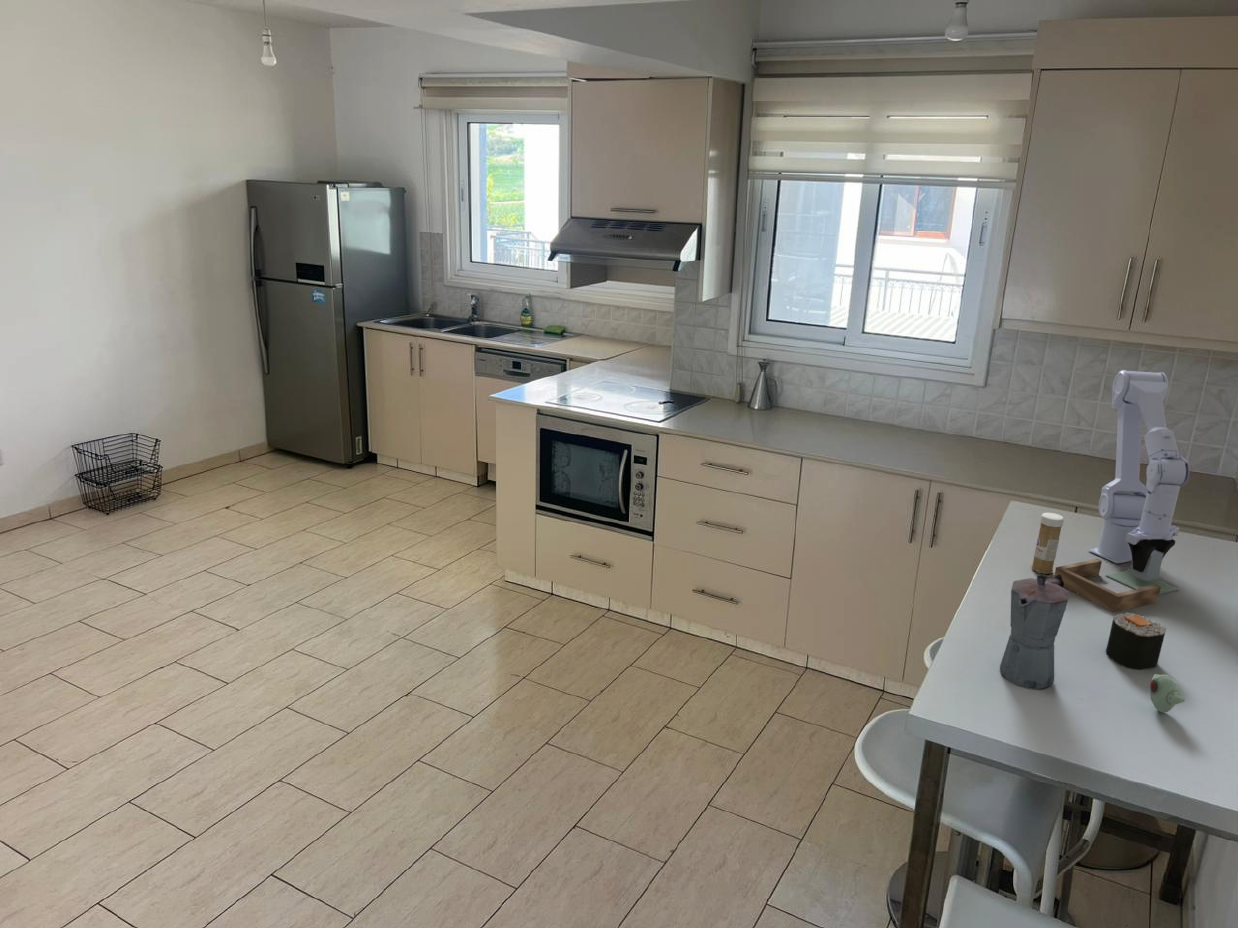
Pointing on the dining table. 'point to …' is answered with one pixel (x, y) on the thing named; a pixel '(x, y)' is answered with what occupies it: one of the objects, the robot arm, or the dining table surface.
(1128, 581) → the green mat
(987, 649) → the dining table surface
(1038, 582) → the moka pot
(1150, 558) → the slate block
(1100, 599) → the walnut stall
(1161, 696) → the pale green rounded piece
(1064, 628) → the dining table surface
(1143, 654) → the sushi
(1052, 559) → the sprinkles bottle
